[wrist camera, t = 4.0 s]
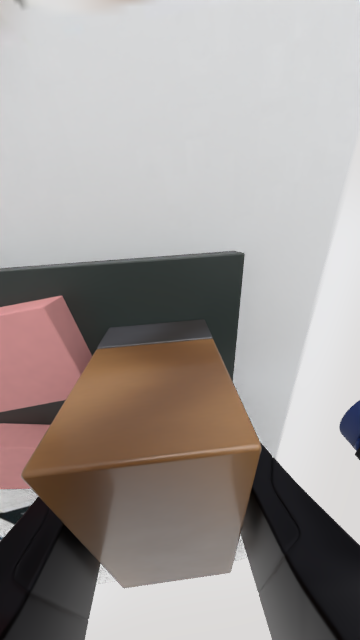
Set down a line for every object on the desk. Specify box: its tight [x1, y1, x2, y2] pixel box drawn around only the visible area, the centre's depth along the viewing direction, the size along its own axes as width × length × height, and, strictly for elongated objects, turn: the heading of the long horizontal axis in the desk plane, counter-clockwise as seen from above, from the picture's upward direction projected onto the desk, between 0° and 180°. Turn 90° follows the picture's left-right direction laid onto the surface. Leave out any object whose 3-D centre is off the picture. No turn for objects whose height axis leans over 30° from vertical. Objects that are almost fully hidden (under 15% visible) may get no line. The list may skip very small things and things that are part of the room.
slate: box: [0, 251, 244, 425], centre depth 9 cm, size 17×13×1 cm
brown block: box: [21, 319, 261, 588], centre depth 7 cm, size 4×8×5 cm, turn 4°
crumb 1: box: [0, 296, 92, 412], centre depth 7 cm, size 4×4×1 cm
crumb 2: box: [0, 423, 50, 489], centre depth 10 cm, size 4×4×1 cm
